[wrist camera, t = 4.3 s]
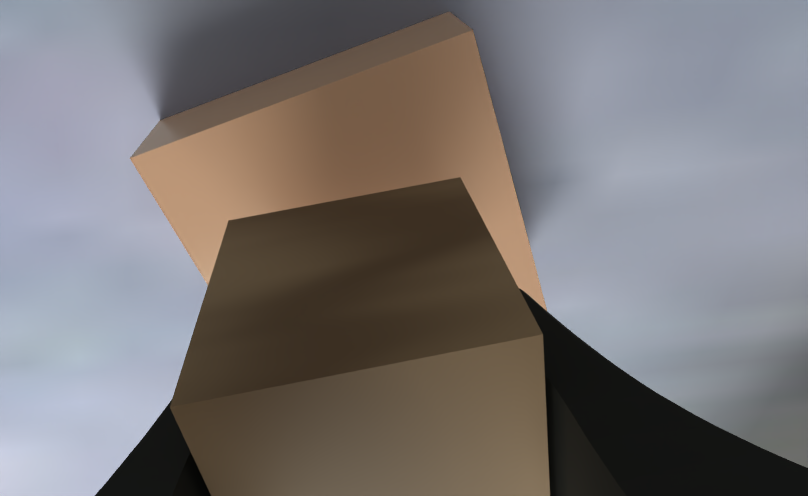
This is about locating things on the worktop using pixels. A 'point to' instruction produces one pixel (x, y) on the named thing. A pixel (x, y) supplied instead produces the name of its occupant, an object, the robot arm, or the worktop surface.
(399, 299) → the walnut block
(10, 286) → the worktop surface
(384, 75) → the peach slab
